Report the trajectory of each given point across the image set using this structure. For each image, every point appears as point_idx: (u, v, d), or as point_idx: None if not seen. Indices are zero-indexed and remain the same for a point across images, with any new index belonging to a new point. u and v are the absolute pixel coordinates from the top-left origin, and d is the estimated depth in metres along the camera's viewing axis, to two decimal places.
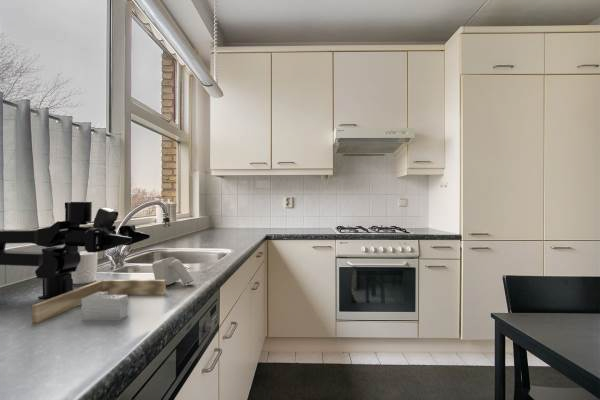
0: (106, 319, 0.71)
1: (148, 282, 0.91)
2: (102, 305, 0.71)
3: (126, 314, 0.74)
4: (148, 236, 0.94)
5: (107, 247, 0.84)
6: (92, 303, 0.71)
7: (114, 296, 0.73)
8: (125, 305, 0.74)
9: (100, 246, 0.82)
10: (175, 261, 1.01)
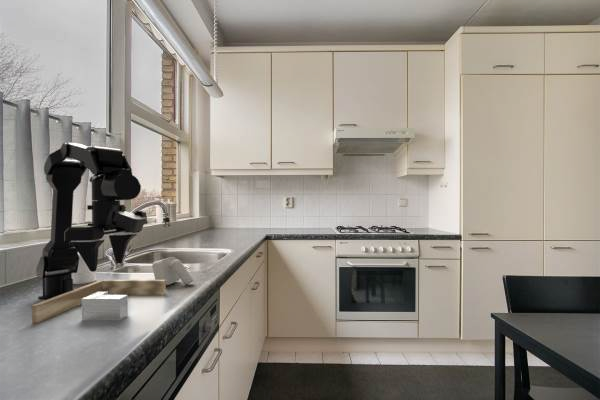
0: (106, 319, 0.71)
1: (148, 282, 0.91)
2: (102, 305, 0.71)
3: (126, 314, 0.74)
4: (119, 262, 0.78)
5: (77, 247, 0.67)
6: (92, 303, 0.71)
7: (114, 296, 0.73)
8: (125, 305, 0.74)
9: (75, 243, 0.65)
10: (175, 261, 1.01)
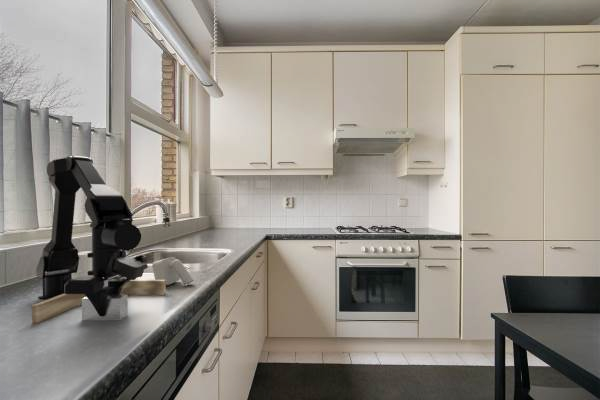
0: (106, 319, 0.71)
1: (148, 282, 0.91)
2: None
3: (126, 314, 0.74)
4: None
5: (87, 294, 0.69)
6: None
7: (114, 296, 0.73)
8: (125, 305, 0.74)
9: None
10: (175, 261, 1.01)
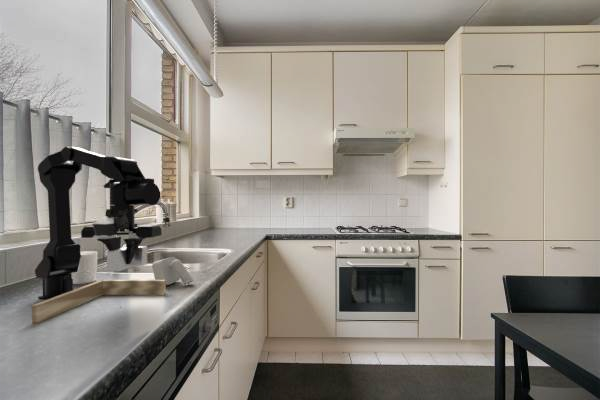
0: None
1: (148, 282, 0.91)
2: None
3: (116, 269, 0.78)
4: None
5: None
6: None
7: (119, 250, 0.81)
8: (115, 260, 0.78)
9: None
10: (175, 261, 1.01)
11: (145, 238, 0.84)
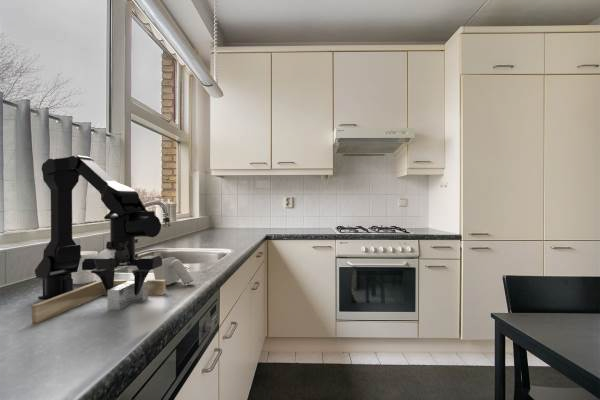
0: None
1: (148, 282, 0.91)
2: None
3: (117, 308, 0.78)
4: None
5: None
6: None
7: (119, 287, 0.81)
8: (116, 299, 0.78)
9: None
10: (175, 261, 1.01)
11: None
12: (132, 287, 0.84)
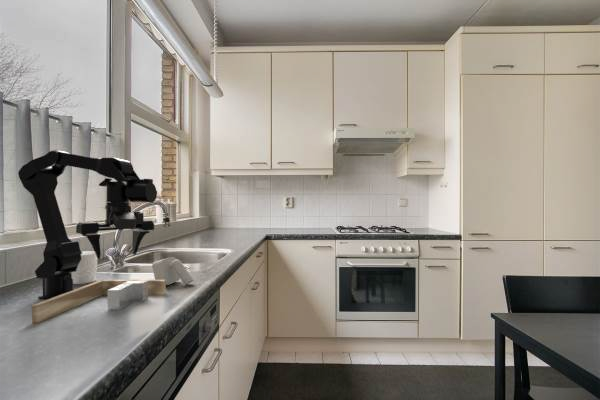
0: None
1: (148, 282, 0.91)
2: None
3: (117, 308, 0.78)
4: (134, 253, 0.93)
5: (89, 238, 0.86)
6: None
7: (119, 287, 0.81)
8: (116, 299, 0.78)
9: (83, 235, 0.85)
10: (175, 261, 1.01)
11: None
12: (132, 287, 0.84)
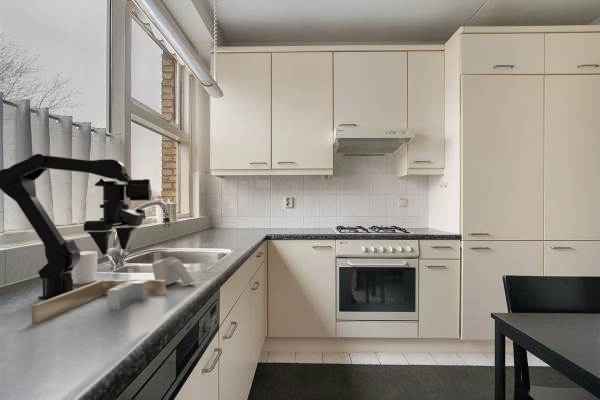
0: None
1: (148, 282, 0.91)
2: None
3: (117, 308, 0.78)
4: (123, 248, 1.00)
5: (93, 236, 0.89)
6: None
7: (119, 287, 0.81)
8: (116, 299, 0.78)
9: None
10: (175, 261, 1.01)
11: None
12: (132, 287, 0.84)
